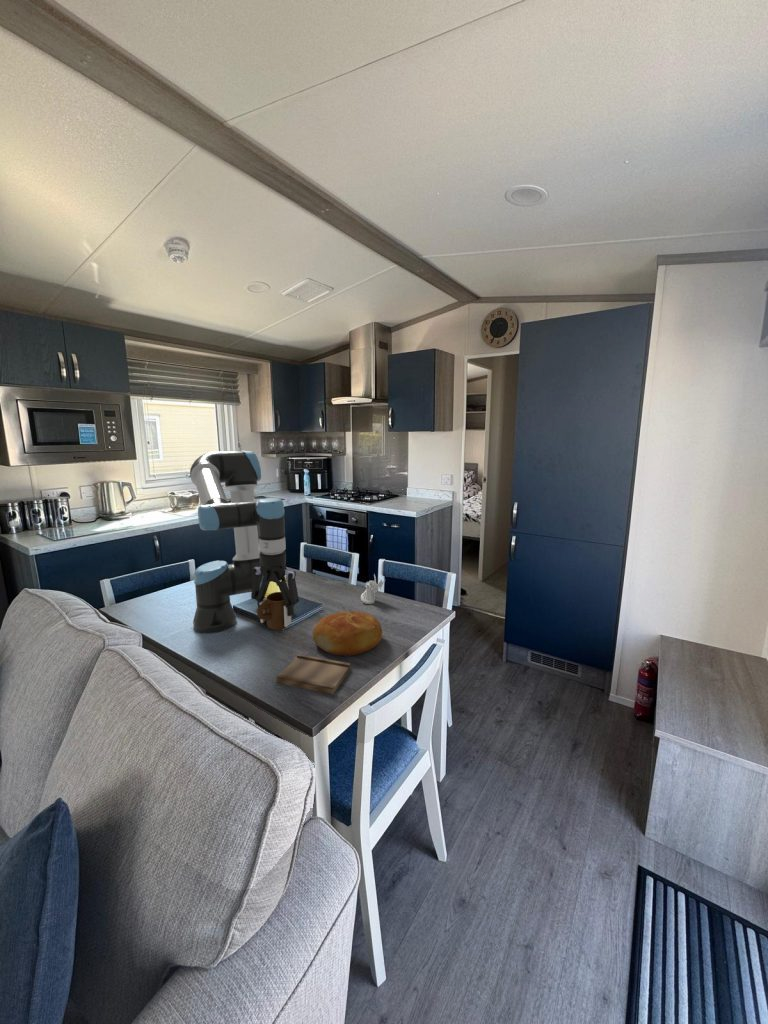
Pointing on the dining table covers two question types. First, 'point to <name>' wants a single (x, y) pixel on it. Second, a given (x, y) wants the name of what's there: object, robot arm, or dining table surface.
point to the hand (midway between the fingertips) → (275, 622)
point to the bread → (347, 633)
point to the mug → (273, 611)
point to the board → (314, 673)
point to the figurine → (371, 591)
